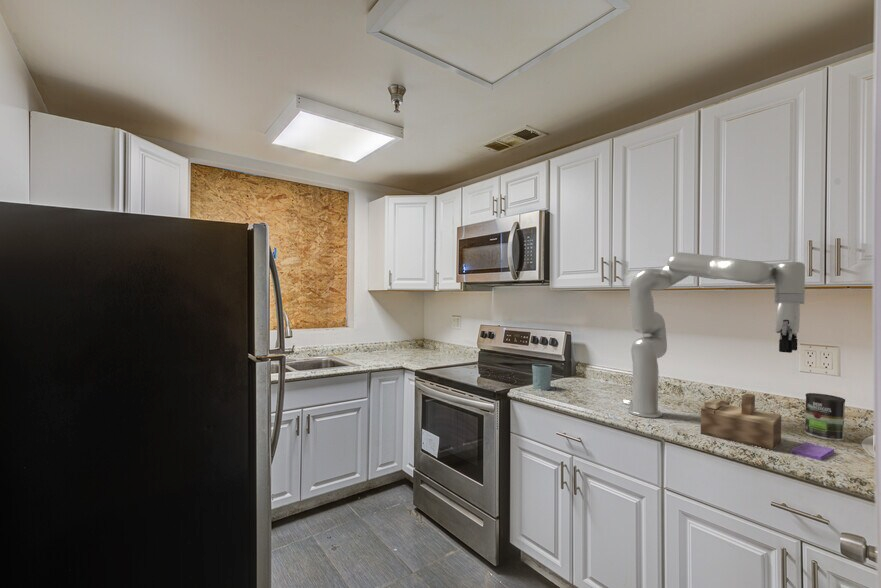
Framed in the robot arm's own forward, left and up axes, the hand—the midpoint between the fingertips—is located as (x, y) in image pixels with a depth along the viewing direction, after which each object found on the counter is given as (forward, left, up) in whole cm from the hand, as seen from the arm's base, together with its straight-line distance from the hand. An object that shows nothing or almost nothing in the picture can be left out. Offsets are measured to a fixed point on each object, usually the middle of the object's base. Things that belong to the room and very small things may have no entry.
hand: (788, 351), depth 133 cm
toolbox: (-12, 0, -31) cm, 33 cm away
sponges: (+7, -1, -32) cm, 33 cm away
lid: (-11, -3, -23) cm, 26 cm away
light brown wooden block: (-20, -4, -22) cm, 30 cm away
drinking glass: (-98, +4, -32) cm, 103 cm away
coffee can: (+7, +24, -31) cm, 40 cm away
